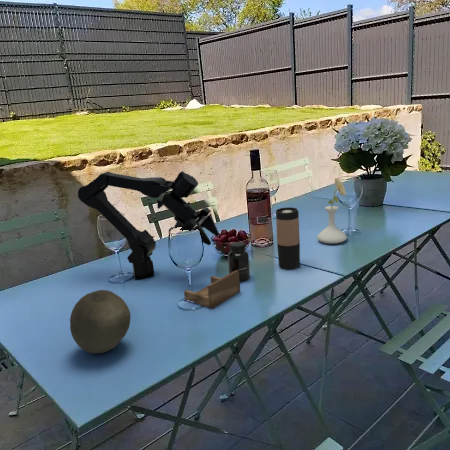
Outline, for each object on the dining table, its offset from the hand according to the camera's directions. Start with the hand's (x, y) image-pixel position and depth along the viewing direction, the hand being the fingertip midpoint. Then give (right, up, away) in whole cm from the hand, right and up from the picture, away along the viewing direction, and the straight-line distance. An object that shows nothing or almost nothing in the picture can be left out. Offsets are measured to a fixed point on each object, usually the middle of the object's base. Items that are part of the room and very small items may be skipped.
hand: (214, 239), depth 141 cm
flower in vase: (+46, -2, +30) cm, 55 cm away
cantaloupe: (-26, -26, -34) cm, 50 cm away
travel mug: (+26, -10, +9) cm, 29 cm away
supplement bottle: (+8, -13, +2) cm, 16 cm away
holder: (0, -17, -10) cm, 19 cm away
